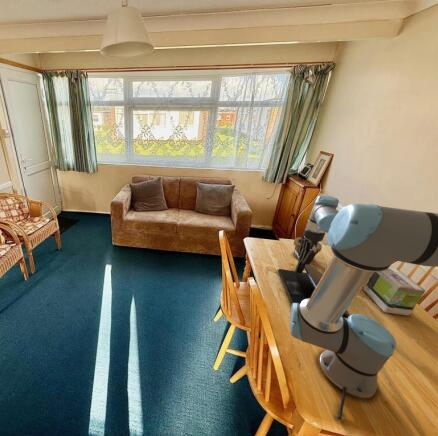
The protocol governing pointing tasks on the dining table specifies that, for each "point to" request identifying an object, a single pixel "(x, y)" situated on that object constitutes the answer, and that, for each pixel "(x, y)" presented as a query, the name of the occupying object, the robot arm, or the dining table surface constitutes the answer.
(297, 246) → the flowerpot
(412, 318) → the dining table surface
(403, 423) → the dining table surface
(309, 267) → the laptop screen
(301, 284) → the laptop
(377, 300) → the tea box
